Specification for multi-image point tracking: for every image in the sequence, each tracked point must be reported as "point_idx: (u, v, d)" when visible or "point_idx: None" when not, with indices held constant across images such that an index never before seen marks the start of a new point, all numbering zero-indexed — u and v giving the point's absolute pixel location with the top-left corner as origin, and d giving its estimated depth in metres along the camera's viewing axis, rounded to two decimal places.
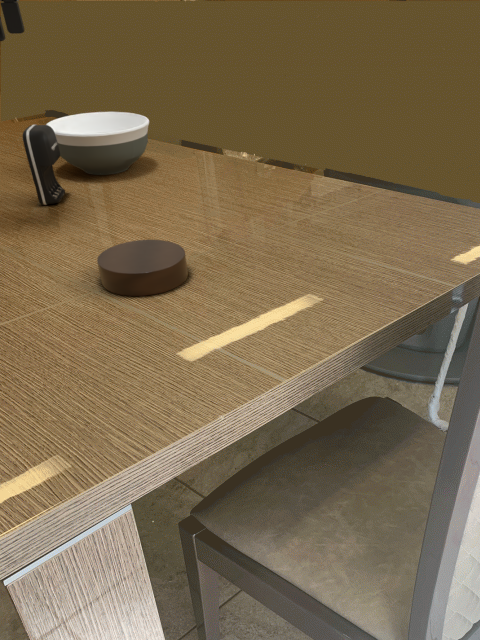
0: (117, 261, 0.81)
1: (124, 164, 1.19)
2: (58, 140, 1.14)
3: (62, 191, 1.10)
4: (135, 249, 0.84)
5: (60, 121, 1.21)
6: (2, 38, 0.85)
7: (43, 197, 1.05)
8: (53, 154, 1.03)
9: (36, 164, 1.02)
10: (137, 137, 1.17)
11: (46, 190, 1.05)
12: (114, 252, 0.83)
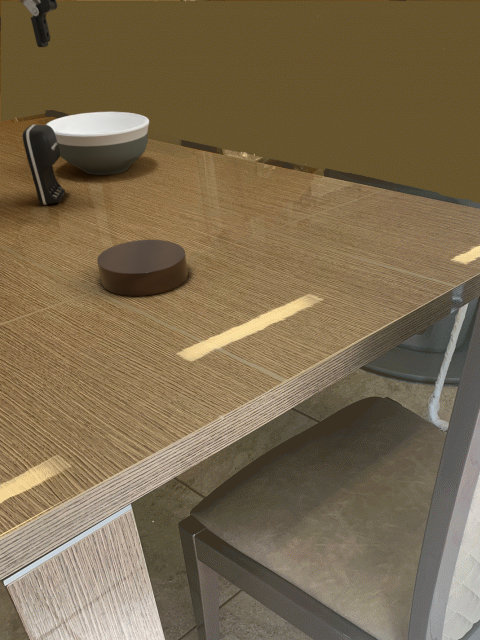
0: (117, 261, 0.81)
1: (124, 164, 1.19)
2: (58, 140, 1.14)
3: (62, 191, 1.10)
4: (135, 249, 0.84)
5: (60, 121, 1.21)
6: (47, 43, 0.94)
7: (43, 197, 1.05)
8: (53, 154, 1.03)
9: (36, 164, 1.02)
10: (137, 137, 1.17)
11: (46, 190, 1.05)
12: (114, 252, 0.83)
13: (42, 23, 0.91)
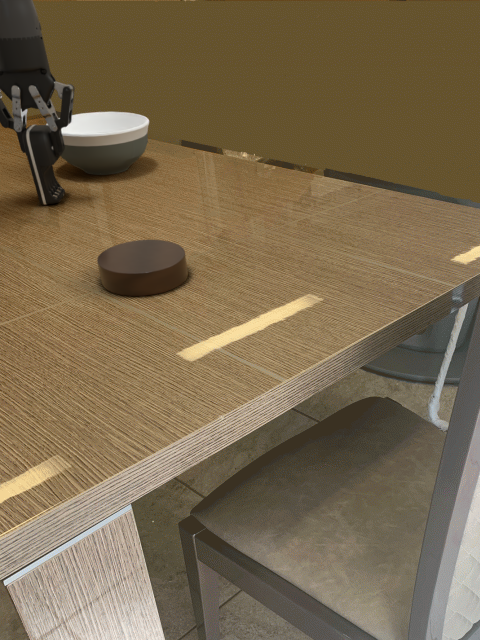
0: (117, 261, 0.81)
1: (124, 164, 1.19)
2: None
3: (62, 191, 1.10)
4: (135, 249, 0.84)
5: None
6: None
7: (43, 197, 1.05)
8: (53, 154, 1.03)
9: (36, 164, 1.02)
10: (137, 137, 1.17)
11: (46, 190, 1.05)
12: (114, 252, 0.83)
13: (59, 136, 1.03)
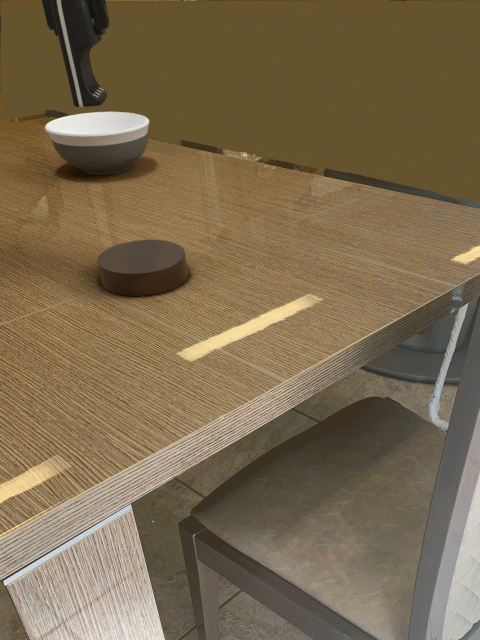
0: (117, 261, 0.81)
1: (124, 164, 1.19)
2: (58, 140, 1.14)
3: (103, 93, 0.78)
4: (135, 249, 0.84)
5: (60, 121, 1.21)
6: (105, 30, 0.74)
7: (80, 96, 0.74)
8: (94, 31, 0.72)
9: (70, 44, 0.71)
10: (137, 137, 1.17)
11: (84, 85, 0.74)
12: (114, 252, 0.83)
13: (103, 4, 0.71)
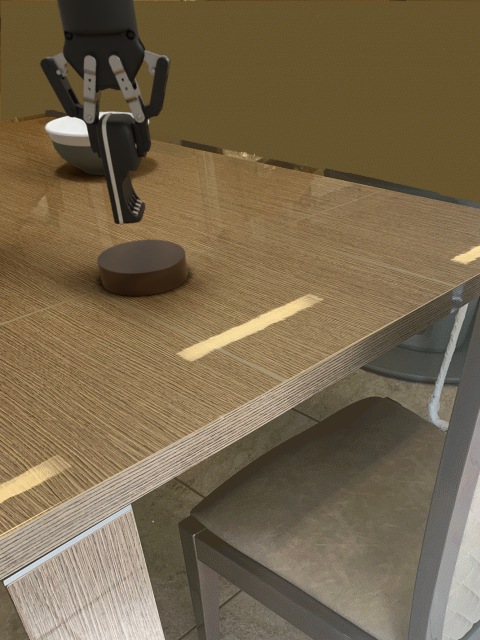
0: (117, 261, 0.81)
1: None
2: (58, 140, 1.14)
3: (142, 205, 0.80)
4: (135, 249, 0.84)
5: (60, 121, 1.21)
6: None
7: (120, 214, 0.76)
8: (137, 155, 0.73)
9: (114, 169, 0.72)
10: None
11: (125, 205, 0.75)
12: (114, 252, 0.83)
13: (146, 130, 0.73)
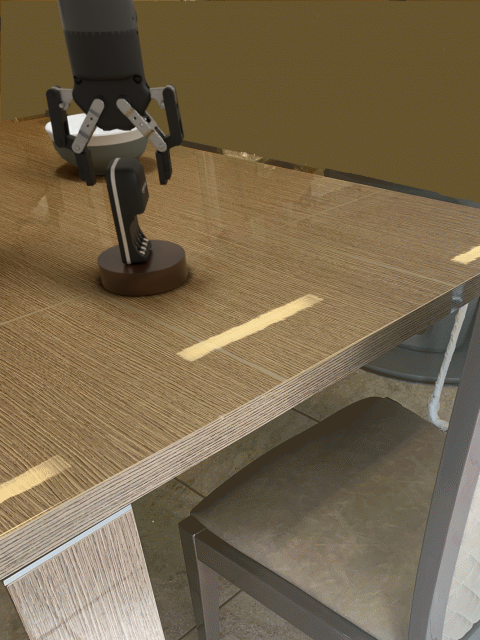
0: (117, 261, 0.81)
1: None
2: None
3: (148, 244, 0.83)
4: None
5: None
6: None
7: (128, 255, 0.79)
8: (144, 198, 0.76)
9: (122, 213, 0.75)
10: (137, 137, 1.17)
11: (132, 246, 0.78)
12: (114, 252, 0.83)
13: (168, 158, 0.75)
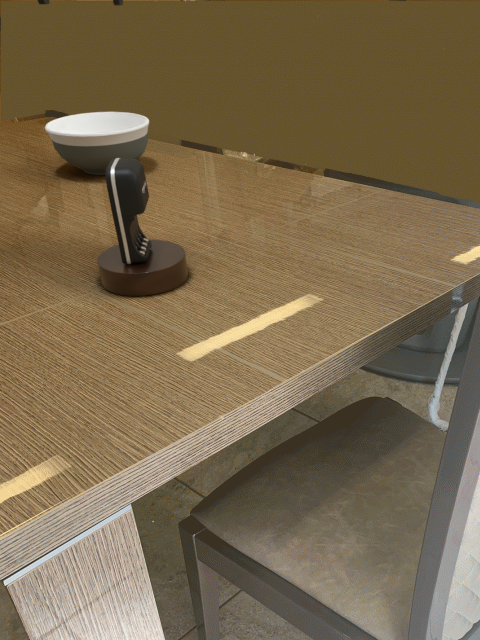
0: (117, 261, 0.81)
1: None
2: (58, 140, 1.14)
3: (148, 244, 0.83)
4: None
5: (60, 121, 1.21)
6: (122, 1, 0.75)
7: (128, 255, 0.79)
8: (144, 198, 0.76)
9: (122, 213, 0.75)
10: (137, 137, 1.17)
11: (132, 246, 0.78)
12: (114, 252, 0.83)
13: None
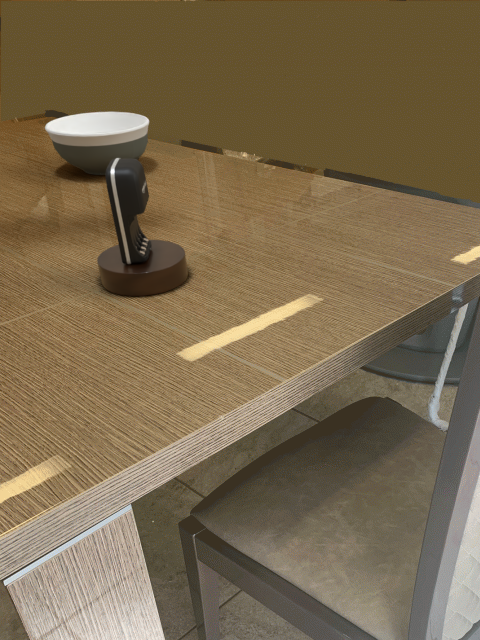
0: (117, 261, 0.81)
1: None
2: (58, 140, 1.14)
3: (148, 244, 0.83)
4: None
5: (60, 121, 1.21)
6: None
7: (128, 255, 0.79)
8: (144, 198, 0.76)
9: (122, 213, 0.75)
10: (137, 137, 1.17)
11: (132, 246, 0.78)
12: (114, 252, 0.83)
13: None
